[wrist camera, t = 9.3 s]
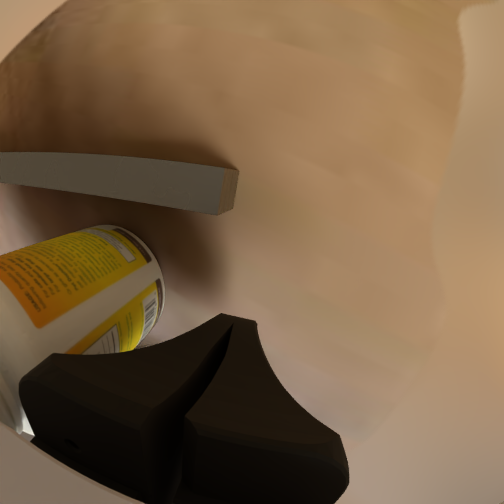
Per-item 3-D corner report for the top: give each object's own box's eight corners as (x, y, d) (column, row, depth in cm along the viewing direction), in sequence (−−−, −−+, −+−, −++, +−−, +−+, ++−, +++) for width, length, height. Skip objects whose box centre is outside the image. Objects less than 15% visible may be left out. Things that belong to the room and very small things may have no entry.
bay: (205, 402, 14) (188, 441, 11) (-19, 302, 16) (-45, 315, 13) (239, 170, 11) (220, 167, 8) (-25, 153, 13) (-56, 155, 10)
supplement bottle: (62, 238, 13) (-107, 304, 3) (149, 207, 12) (-86, 276, 2) (97, 337, 14) (-31, 453, 4) (186, 327, 13) (55, 510, 3)
